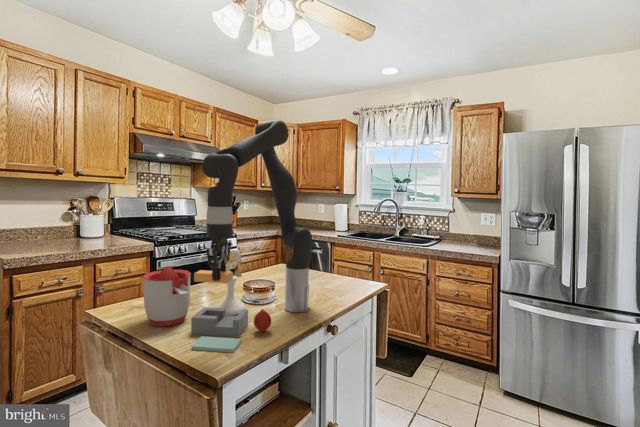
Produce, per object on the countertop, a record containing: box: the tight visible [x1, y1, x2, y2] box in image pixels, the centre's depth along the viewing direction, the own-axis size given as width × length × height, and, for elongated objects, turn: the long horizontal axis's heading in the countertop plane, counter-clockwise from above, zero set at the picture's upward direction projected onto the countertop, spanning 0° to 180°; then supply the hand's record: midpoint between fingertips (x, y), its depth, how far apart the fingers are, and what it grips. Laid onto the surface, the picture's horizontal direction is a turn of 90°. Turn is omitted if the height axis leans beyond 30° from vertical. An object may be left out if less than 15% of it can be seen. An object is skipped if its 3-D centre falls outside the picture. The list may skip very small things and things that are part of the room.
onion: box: [253, 308, 272, 333], centre depth 114 cm, size 6×6×8 cm
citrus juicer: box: [142, 265, 192, 328], centre depth 121 cm, size 16×17×20 cm
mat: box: [190, 335, 242, 353], centre depth 104 cm, size 13×7×1 cm, turn 85°
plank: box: [193, 269, 233, 284], centre depth 102 cm, size 10×4×2 cm, turn 85°
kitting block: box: [190, 306, 249, 338], centre depth 116 cm, size 16×10×6 cm, turn 85°
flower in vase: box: [215, 249, 246, 316], centre depth 130 cm, size 13×11×25 cm
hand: (219, 278), depth 102 cm, fingers closed on plank, 4 cm apart
